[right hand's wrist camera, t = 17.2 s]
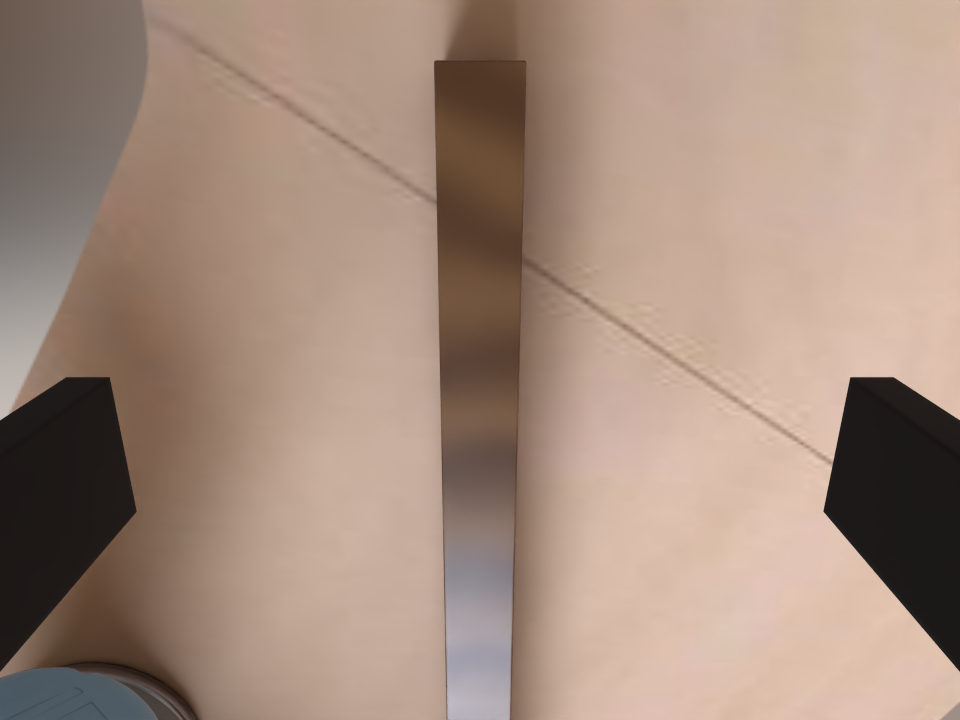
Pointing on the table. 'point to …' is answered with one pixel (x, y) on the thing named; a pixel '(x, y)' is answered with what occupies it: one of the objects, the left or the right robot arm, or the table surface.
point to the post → (479, 370)
